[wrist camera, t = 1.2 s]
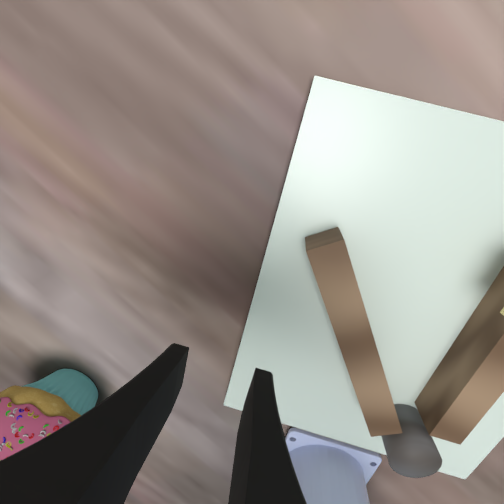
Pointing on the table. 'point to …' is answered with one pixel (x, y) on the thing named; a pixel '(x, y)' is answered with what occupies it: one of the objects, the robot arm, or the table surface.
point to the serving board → (378, 258)
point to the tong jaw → (352, 329)
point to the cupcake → (42, 408)
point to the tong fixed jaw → (453, 391)
